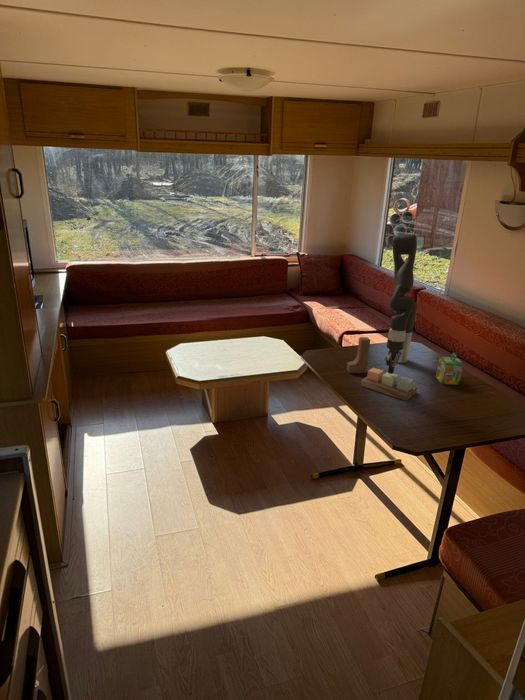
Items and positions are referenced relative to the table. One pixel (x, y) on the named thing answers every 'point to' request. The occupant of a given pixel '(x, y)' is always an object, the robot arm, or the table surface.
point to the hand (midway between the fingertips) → (390, 373)
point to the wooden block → (360, 357)
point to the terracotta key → (375, 375)
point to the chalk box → (449, 370)
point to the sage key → (389, 379)
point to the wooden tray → (388, 389)
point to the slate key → (404, 384)
